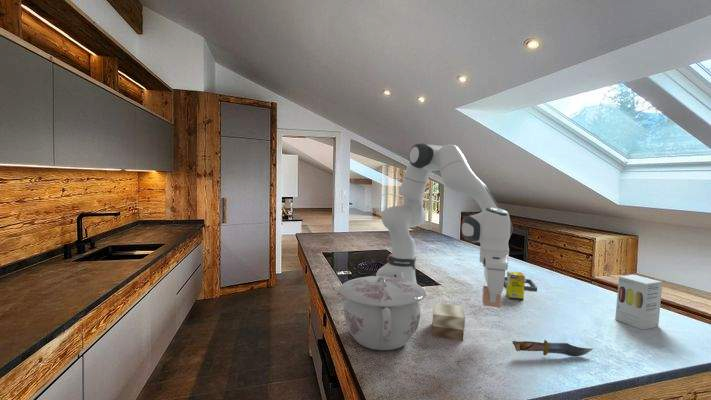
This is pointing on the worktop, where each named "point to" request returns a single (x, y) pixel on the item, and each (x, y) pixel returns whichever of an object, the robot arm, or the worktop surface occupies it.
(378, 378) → the worktop surface
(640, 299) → the supplement box
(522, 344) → the knife
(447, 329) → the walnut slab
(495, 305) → the terracotta block
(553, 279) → the worktop surface
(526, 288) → the grey square frame
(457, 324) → the birch slab
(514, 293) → the supplement box
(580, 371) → the worktop surface
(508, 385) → the worktop surface
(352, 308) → the chamber pot
